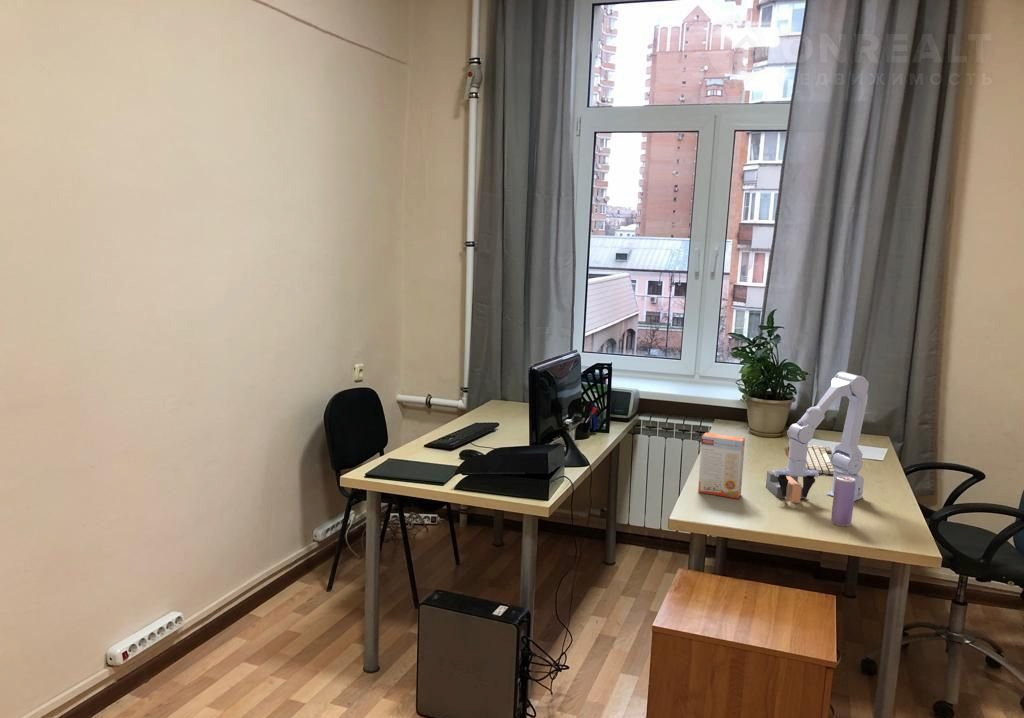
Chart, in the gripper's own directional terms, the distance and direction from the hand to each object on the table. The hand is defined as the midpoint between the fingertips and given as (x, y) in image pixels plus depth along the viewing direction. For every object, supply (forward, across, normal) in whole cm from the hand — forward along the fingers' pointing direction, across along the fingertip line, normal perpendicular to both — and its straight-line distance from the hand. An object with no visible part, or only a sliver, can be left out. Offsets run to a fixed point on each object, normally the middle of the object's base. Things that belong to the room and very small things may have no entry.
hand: (793, 496), depth 259 cm
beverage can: (+2, -8, +20) cm, 22 cm away
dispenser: (+1, 0, -8) cm, 8 cm away
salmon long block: (+2, 0, -4) cm, 4 cm away
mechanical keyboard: (+2, -26, -47) cm, 54 cm away
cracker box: (+2, +24, -5) cm, 25 cm away
